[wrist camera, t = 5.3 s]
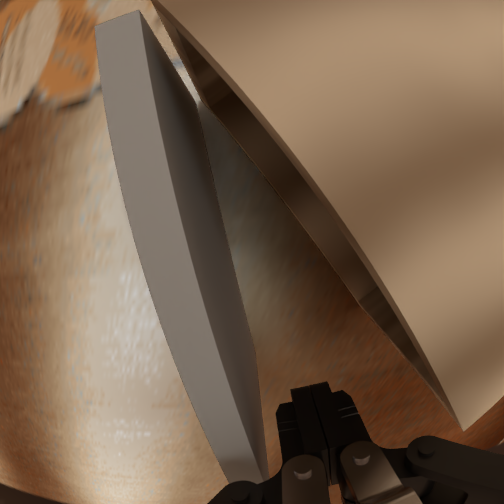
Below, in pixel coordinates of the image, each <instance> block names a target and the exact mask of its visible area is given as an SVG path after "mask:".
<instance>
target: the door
mask: <svg viewBox="0 0 504 504" xmlns="http://www.w3.org/2000/svg"><path fill="white" fill-rule="evenodd" d="M95 36H96V46H97V56H98V64H99V72H100V79H101V86H102V93H103V100H104V106H105V112H106V118H107V123H108V129H109V134H110V139H111V145H112V150H113V154H114V159H115V164H116V169H117V173H118V178H119V182H120V186H121V191H122V195H123V199H124V203H125V207H126V211H127V215H128V219H129V222H130V226H131V230H132V234H133V237H134V241H135V244H136V248H137V251H138V255H139V258H140V262H141V265H142V268H143V272H144V275H145V278H146V281H147V284H148V288H149V291H150V294H151V297H152V300H153V303H154V306H155V309H156V312H157V315H158V318H159V320H160V323H161V326H162V329H163V332H164V335H165V337H166V340H167V343H168V346H169V348H170V351H171V354H172V356H173V359H174V361H175V364H176V367H177V369H178V372H179V374H180V377H181V379H182V382H183V384H184V387H185V389H186V391H187V394H188V396H189V399H190V401H191V403H192V406H193V408H194V410H195V413H196V415H197V417H198V419H199V422H200V424H201V426H202V428H203V430H204V433H205V435H206V437H207V439H208V441H209V443H210V446H211V448H212V450H213V452H214V454H215V456H216V458H217V460H218V462H219V464H220V466H221V468H222V470H223V472H224V474H225V476H226V478H227V480H228V482H229V484H230V483H232V482H235V481H241V480H246V481H251V482H254V483H256V484H259V483H261V482H264V481H266V480H268V479H269V472H268V463H267V454H266V445H265V436H264V427H263V418H262V409H261V400H260V391H259V381H258V372H257V363H256V354H255V350H254V346H253V342H252V338H251V334H250V330H249V326H248V322H247V318H246V314H245V310H244V306H243V302H242V298H241V294H240V290H239V286H238V282H237V278H236V274H235V270H234V266H233V262H232V258H231V253H230V249H229V245H228V241H227V237H226V233H225V228H224V224H223V220H222V216H221V212H220V207H219V203H218V199H217V194H216V190H215V186H214V181H213V177H212V173H211V168H210V164H209V159H208V155H207V151H206V146H205V142H204V137H203V133H202V128H201V124H200V119H199V115H198V110H197V105H196V102H195V101H194V99H193V97H192V96H191V94H190V92H189V91H188V89H187V87H186V86H185V84H184V82H183V81H182V79H181V77H180V76H179V74H178V72H177V71H176V69H175V67H174V66H173V64H172V62H171V61H170V59H169V57H168V56H167V54H166V52H165V51H164V49H163V48H162V46H161V44H160V43H159V41H158V39H157V38H156V36H155V35H154V33H153V31H152V30H151V28H150V26H149V25H148V23H147V22H146V20H145V18H144V17H143V15H142V14H141V12H140V10H136V11H133V12H131V13H128V14H125V15H122V16H119V17H117V18H114V19H111V20H109V21H106V22H104V23H101V24H99V25H96V26H95Z"/></svg>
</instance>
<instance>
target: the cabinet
mask: <svg viewBox="0 0 504 504" xmlns="http://www.w3.org/2000/svg"><path fill="white" fill-rule="evenodd" d="M151 1H152V3H153V5H154V7H155V9H156V11H157V13H158V15H159V17H160V19H161V21H162V23H163V25H164V27H165V29H166V31H167V33H168V35H169V37H170V38H171V40H172V42H173V44H174V46H175V48H176V50H177V52H178V54H179V56H180V58H181V60H182V62H183V64H184V66H185V68H186V70H187V72H188V74H189V76H190V78H191V80H192V82H193V84H194V86H195V88H196V90H197V92H198V94H199V96H200V98H201V100H202V101H203V102H204V103H205V105H206V106H207V107H208V108H209V109H210V111H211V112H212V113H213V114H214V115H215V117H216V118H217V119H218V120H219V121H220V123H221V124H222V125H223V126H224V127H225V129H226V130H227V131H228V132H229V133H230V135H231V136H232V137H233V138H234V139H235V141H236V142H237V143H238V144H239V146H240V147H241V148H242V149H243V151H244V152H245V153H246V154H247V155H248V157H249V158H250V159H251V160H252V162H253V163H254V164H255V166H256V167H257V168H258V169H259V171H260V172H261V173H262V174H263V176H264V177H265V178H266V179H267V181H268V182H269V183H270V185H271V186H272V187H273V188H274V190H275V191H276V192H277V194H278V195H279V196H280V197H281V199H282V200H283V201H284V203H285V204H286V205H287V207H288V208H289V209H290V211H291V212H292V213H293V214H294V216H295V217H296V218H297V220H298V221H299V222H300V224H301V225H302V226H303V228H304V229H305V230H306V232H307V233H308V234H309V236H310V237H311V239H312V240H313V241H314V243H315V244H316V245H317V247H318V248H319V249H320V251H321V252H322V254H323V255H324V256H325V258H326V259H327V260H328V262H329V263H330V265H331V266H332V267H333V269H334V270H335V272H336V273H337V274H338V276H339V277H340V279H341V280H342V281H343V283H344V284H345V286H346V287H347V288H348V290H349V291H350V293H351V294H352V296H353V297H354V298H355V300H356V301H357V303H358V304H359V306H360V307H361V308H362V309H363V310H364V312H365V313H366V314H367V315H368V316H369V317H370V318H371V320H372V321H373V322H374V323H375V324H376V325H377V327H378V328H379V329H380V330H381V331H382V332H383V334H384V335H385V336H386V337H387V338H388V339H389V341H390V342H391V343H392V344H393V345H394V346H395V348H396V349H397V350H398V351H399V352H400V354H401V355H402V356H403V357H404V358H405V359H406V361H407V362H408V363H409V364H410V365H411V367H412V368H413V369H414V370H415V372H416V373H417V374H418V375H419V376H420V378H421V379H422V380H423V381H424V382H425V384H426V385H427V386H428V387H429V389H430V390H431V391H432V392H433V394H434V395H435V396H436V397H437V399H438V400H439V401H440V402H441V404H442V405H443V406H444V407H445V409H446V410H447V411H448V412H449V414H450V415H451V416H452V417H453V419H454V420H455V421H456V422H457V424H458V425H459V426H460V428H461V429H462V430H463V431H465V430H466V429H467V428H468V427H469V426H471V425H472V424H473V423H474V422H475V421H476V420H478V419H479V418H480V417H481V416H482V415H483V414H484V413H486V412H487V411H488V410H489V409H490V408H491V407H492V406H493V405H494V404H495V403H496V402H497V401H498V400H499V399H500V398H502V397H503V396H504V0H151Z"/></svg>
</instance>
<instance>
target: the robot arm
mask: <svg viewBox="0 0 504 504" xmlns="http://www.w3.org/2000/svg"><path fill="white" fill-rule="evenodd" d="M290 391H291V397H292V402H288V403H283V404H280V405H279V407H278V409H277V412H276V419H277V426H278V432H279V439H280V446H281V453H282V459H283V463H282V467H281V469H280V471H279V472H278V473H277V474H276V475H275V476H274V477H272V478H270V479H268V480H266V481H264V482H261V483H259V484H256V483H254V482H251V481H246V480H241V481H235V482H232V483H230V484H228V485H227V486H225V487H224V488H223V489H222V490H221V491H220V492H219V493H218V494H217V495H216V496H215V497H214V498H213V499H212V500H211V501H210V502H209V503H208V504H330V498H329V491H328V486H330V480H331V484H332V485H334V484H339V487H340V490H341V500H342V503H343V504H504V455H501V454H496V453H493V452H489V451H485V450H481V449H477V448H473V447H469V446H466V445H462V444H458V443H455V442H451V441H448V440H445V439H441V438H438V437H435V436H422V437H419V438H416V439H415V440H413V441H412V442H411V443H410V444H409V445H408V447H407V448H398V449H386V448H382V447H379V446H378V445H377V444H375V443H373V442H372V440H371V439H370V436H369V434H368V432H367V430H366V428H365V426H364V423H363V421H362V419H361V417H360V415H359V414H358V411H357V408H356V407H355V404H354V402H353V400H352V398H351V396H350V395H348V394H347V393H345V392H344V391H343V390H341V391H337V392H333V393H332V392H331V389H330V387H329V384H328V382H327V381H326V382H322V383H318V384H313V385H309V387H308V386H305V387H300V388H295V389H290Z"/></svg>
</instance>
